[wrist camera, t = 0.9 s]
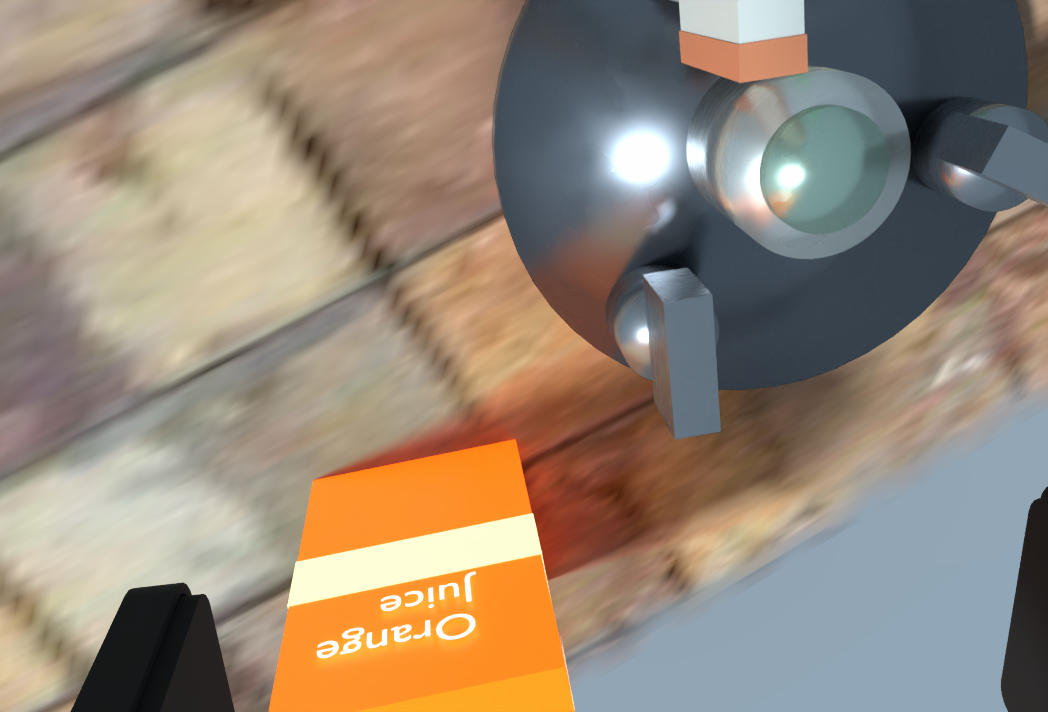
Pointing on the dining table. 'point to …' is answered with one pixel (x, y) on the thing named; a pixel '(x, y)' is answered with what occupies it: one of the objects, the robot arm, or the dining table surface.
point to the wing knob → (744, 37)
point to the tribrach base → (649, 212)
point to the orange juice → (422, 593)
